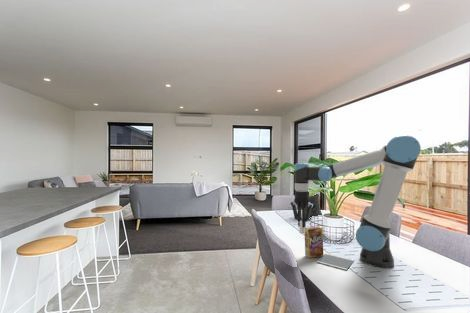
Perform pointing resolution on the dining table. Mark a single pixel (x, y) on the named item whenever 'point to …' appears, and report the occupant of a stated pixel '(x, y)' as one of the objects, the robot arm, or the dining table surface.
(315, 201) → the beer stein
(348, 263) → the mat
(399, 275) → the dining table surface
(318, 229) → the candy box
